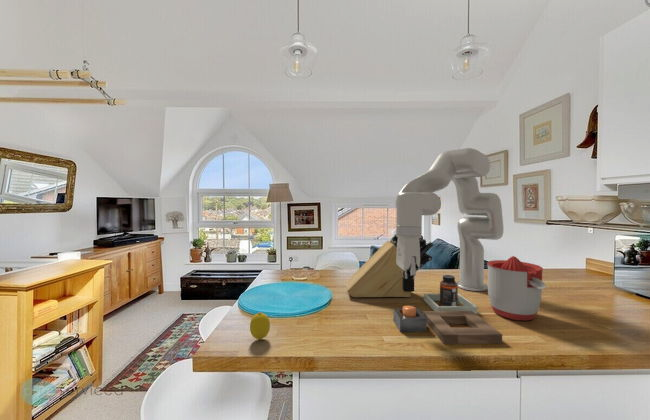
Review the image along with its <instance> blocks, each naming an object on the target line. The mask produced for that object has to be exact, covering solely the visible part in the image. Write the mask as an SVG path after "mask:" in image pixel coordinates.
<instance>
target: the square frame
mask: <svg viewBox="0 0 650 420" xmlns="http://www.w3.org/2000/svg"><path fill="white" fill-rule="evenodd" d="M422 313H423V315H424V316H425V317H426V318H427V326H428V327H429V328H430V329H431V331H432V332H433V333H434V334H435V335H436V337H437V338H438V340H440V342H441V343H442V344H443V345H458V344H461V345H462V344H463V345H464V344H465V345H467V344H469V345H470V344H472V345H473V344H477V345H479V344H481V345H482V344H484V345H485V344H486V345H487V344H503V334H502V332H500V331H498V330H497V329H496V328H494V326H492V325H490V324H489V323H488V322H487V321H485V320H484V319H483V318H481V317H480V315H479V314H475V313H474V312H472V311H434V310H428V311H427V310H423V311H422ZM453 324H454V325H458V324H459V325H461V324H463V325H466V326H467V327H451V326H450V325H453Z"/></svg>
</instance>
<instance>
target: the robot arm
mask: <svg viewBox="0 0 650 420" xmlns="http://www.w3.org/2000/svg"><path fill="white" fill-rule="evenodd" d="M490 169H491V162H490V159H489V157H488V156H487V155H486V154H484V153H483V152H481V151H480V150H478V149H475V148H471V147H466V148H458V149H452V150H450V149H449V150H446V151H443V152H441V153H440V154H438V156H437V157H436V159H435V160H434V162H433V163H432V165H431V166H430V168H429V169H428V170H427V171H426V172H425V173H423V174H420V175H419V176H417V177H415V178H414V179H412V180H410V181H409V182H408V183H406V184H405V185H404V186H403V187H402V189H401V190H400V191H399V192H398V193H397V195H396V200H395V208H396V211H395V212H396V213H395V214H396V215H395V216H396V218H395V219H396V221H395V222H396V224H395V226H396V232H395V235H396V236H397V237H398V240H397V254H396V264H397V265H398V266H399V267H400V268H401V269H402V276H403V279H402V289H403V290H404V291H405V292H411V293H412V292H415V276H417V271H419V270H420V269H421V268H420V242H419V240H420V238H422V228H423V226H422V225H423V221H422V220H423V218H422V217H423V216H433V215H436V214H437V213H439V211H440V209H441V205H442V202H441V199H440V197H439V196H438V194H436V193H435V192H438V191H441V190H443V189H445V188H447V187H448V186H449V184H450V183H451V181H452V182H453V184H454V185H455V189H456V197H457V205H458V209H459V212H460V214H462V215H465V216H464V217H461V218H460V219H459V220H458V222H457V231H458V238H459V239H458V240H459V274H458V277H459V280H458V281H455V282H456V283H457V284H458V289H463V290H466V291H472V292H484V291H485V292H486V291H488V284H487V283H485V281H484V280H485V278H484V277H485V276H484V275H485V250H484V246H483V244H482V243H481V241H480V239H481V240H489V241H491V240H493V241H495V240H496V241H498V240H500V239H501V238H502V237H503V235H504V220H503V219H504V218H503V217H504V216H503V208H502V200H501V198H500V196H499V195H498V194H497V193H495V192H480V189H479V182H478V180H477V178H482V177H486V176H487V175H488V174H489V173H490ZM416 270H417V271H416Z"/></svg>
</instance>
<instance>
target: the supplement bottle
mask: <svg viewBox="0 0 650 420" xmlns="http://www.w3.org/2000/svg"><path fill="white" fill-rule="evenodd" d="M456 282H457V281H456V277H455V276H454V275H451V274H444V275H442V280H441V281H440V282H439V294H440V301H439V306H459V305H458V303H459V301H458V293H459V292H458V291H459V290H458V289H459V287H458V284H457V283H456Z"/></svg>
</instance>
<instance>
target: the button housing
mask: <svg viewBox="0 0 650 420" xmlns="http://www.w3.org/2000/svg"><path fill="white" fill-rule="evenodd" d="M415 308H416V316H409V317H404V316H403V307H396V308H395V307H393V315H392V316H393V322H394V323H395V325H396V327H397V329H398V331H399V332H400V333H411V332H412V333H419V332H420V333H421V332H426V333H427V332H428V329H427V328H428V324H427V318H426V317H425V316H424V315H423V311H421V310H420V309H419V307H415Z"/></svg>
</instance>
